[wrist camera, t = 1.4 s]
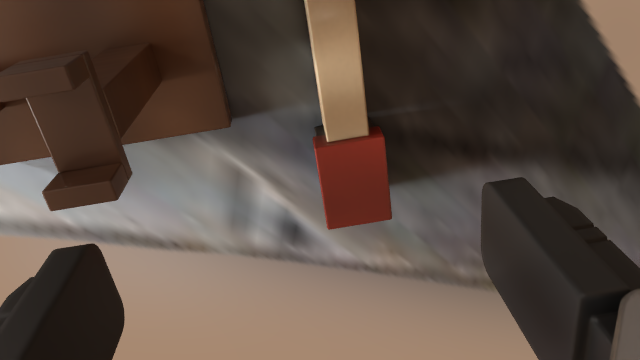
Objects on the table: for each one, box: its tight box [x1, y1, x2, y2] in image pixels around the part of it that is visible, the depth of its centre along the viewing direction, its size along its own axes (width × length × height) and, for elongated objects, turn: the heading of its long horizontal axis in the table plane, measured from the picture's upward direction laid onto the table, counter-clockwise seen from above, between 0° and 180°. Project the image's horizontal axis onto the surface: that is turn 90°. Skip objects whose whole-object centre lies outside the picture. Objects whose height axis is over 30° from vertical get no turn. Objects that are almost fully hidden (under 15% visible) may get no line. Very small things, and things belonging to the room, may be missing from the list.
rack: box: [0, 0, 232, 211], centre depth 21 cm, size 13×8×11 cm, turn 98°
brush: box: [304, 0, 392, 230], centre depth 24 cm, size 20×4×3 cm, turn 8°
